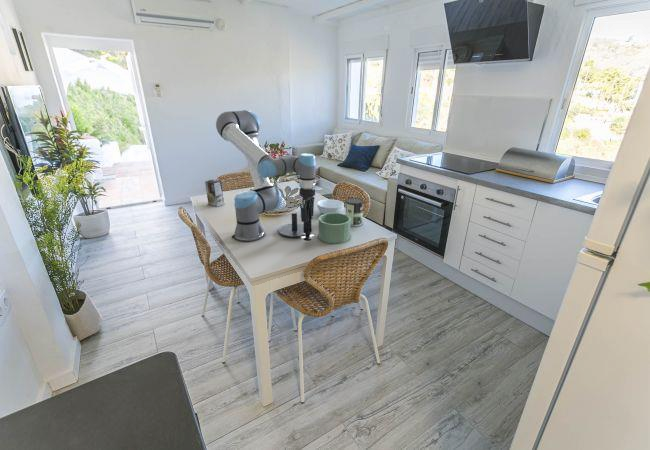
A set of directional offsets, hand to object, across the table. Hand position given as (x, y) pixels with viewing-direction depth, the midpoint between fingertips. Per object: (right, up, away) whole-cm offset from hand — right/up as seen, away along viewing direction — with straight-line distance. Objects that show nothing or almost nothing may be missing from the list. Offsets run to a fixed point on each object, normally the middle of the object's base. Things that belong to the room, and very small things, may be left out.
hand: (307, 232), depth 158 cm
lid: (-8, +1, +16) cm, 18 cm away
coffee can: (+26, +5, +28) cm, 38 cm away
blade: (0, -4, +2) cm, 4 cm away
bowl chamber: (+14, -3, +10) cm, 17 cm away
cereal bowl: (+12, +11, +42) cm, 45 cm away
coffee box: (-65, +18, +56) cm, 88 cm away
